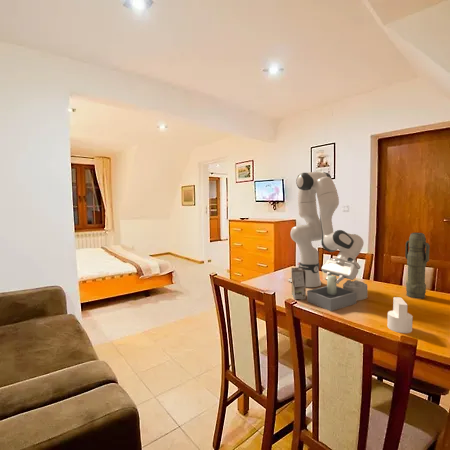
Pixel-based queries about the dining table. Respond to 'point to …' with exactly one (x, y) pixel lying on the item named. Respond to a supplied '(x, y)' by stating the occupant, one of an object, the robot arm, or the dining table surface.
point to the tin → (331, 285)
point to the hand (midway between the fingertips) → (331, 281)
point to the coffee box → (298, 283)
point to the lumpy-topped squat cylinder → (357, 288)
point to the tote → (331, 298)
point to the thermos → (416, 265)
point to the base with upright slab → (399, 317)
